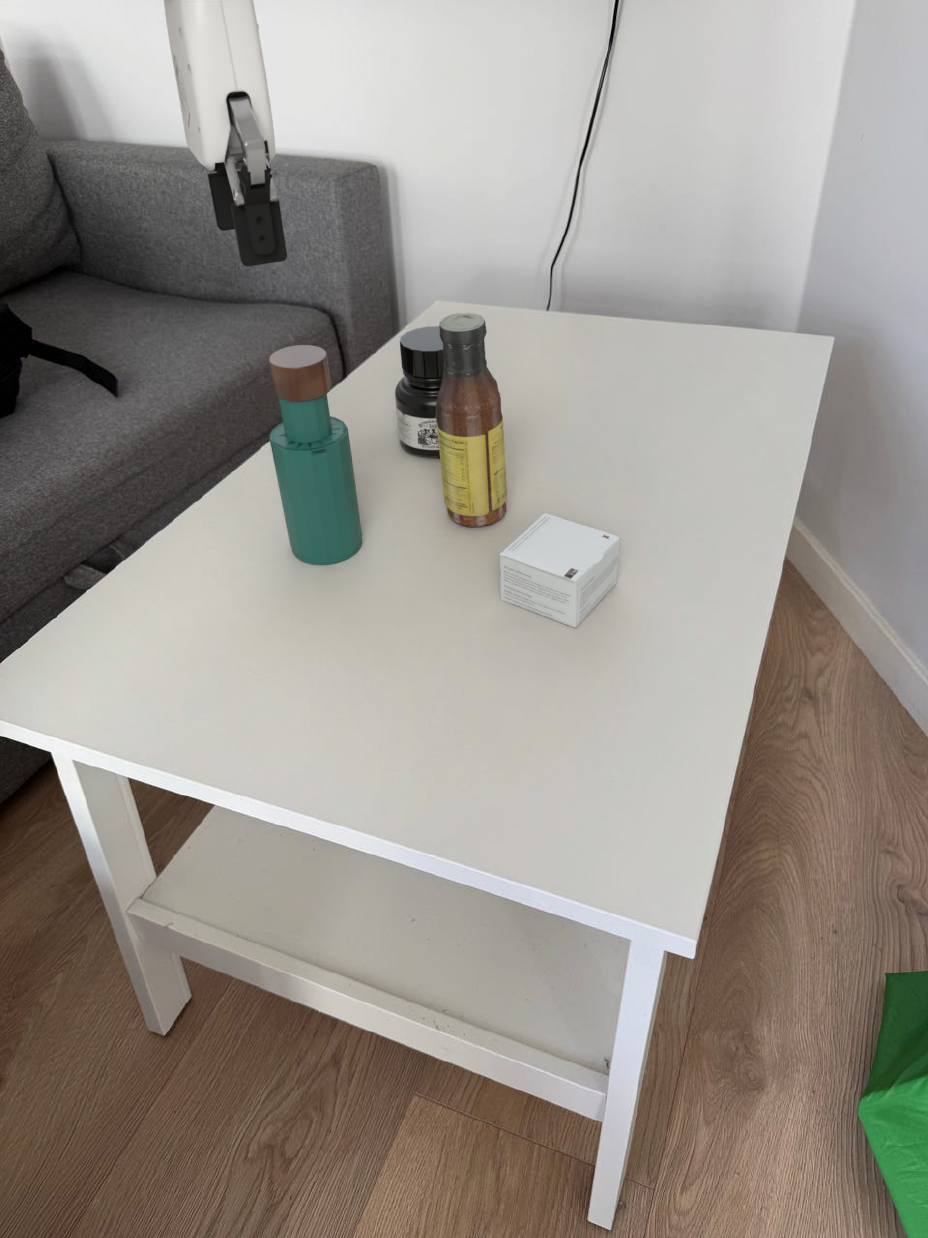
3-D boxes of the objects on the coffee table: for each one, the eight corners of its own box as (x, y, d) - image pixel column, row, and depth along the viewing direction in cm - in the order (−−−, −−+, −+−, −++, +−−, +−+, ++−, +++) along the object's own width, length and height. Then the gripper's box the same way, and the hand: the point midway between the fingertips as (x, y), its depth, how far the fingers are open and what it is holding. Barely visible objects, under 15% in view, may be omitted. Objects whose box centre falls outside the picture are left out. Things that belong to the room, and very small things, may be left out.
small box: (543, 556, 85) (544, 510, 82) (619, 583, 82) (623, 535, 78) (497, 600, 80) (496, 552, 77) (575, 631, 77) (578, 582, 73)
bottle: (300, 572, 85) (270, 414, 75) (284, 535, 90) (254, 382, 80) (370, 554, 87) (350, 397, 77) (351, 519, 92) (329, 367, 82)
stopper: (286, 433, 77) (275, 372, 74) (274, 410, 81) (263, 350, 78) (341, 422, 79) (332, 361, 75) (327, 399, 82) (318, 340, 79)
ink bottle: (388, 458, 101) (377, 354, 93) (403, 421, 108) (394, 321, 100) (476, 461, 100) (472, 356, 92) (485, 423, 106) (482, 322, 99)
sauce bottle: (489, 491, 95) (484, 300, 82) (518, 519, 90) (517, 322, 78) (432, 508, 93) (417, 315, 80) (459, 538, 88) (448, 338, 76)
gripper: (127, -42, 62) (183, 222, 73) (157, -31, 50) (220, 286, 60) (237, -48, 64) (275, 209, 75) (293, -39, 52) (330, 270, 62)
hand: (251, 243), depth 68 cm, fingers open, 9 cm apart
